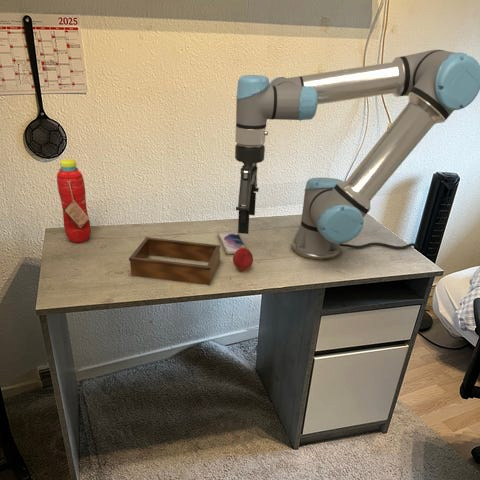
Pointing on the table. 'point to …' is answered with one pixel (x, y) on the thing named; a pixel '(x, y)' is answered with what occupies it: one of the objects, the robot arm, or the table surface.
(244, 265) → the pomegranate
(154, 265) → the wooden box frame
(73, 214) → the water bottle
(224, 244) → the smartphone
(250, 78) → the robot arm
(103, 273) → the table surface
